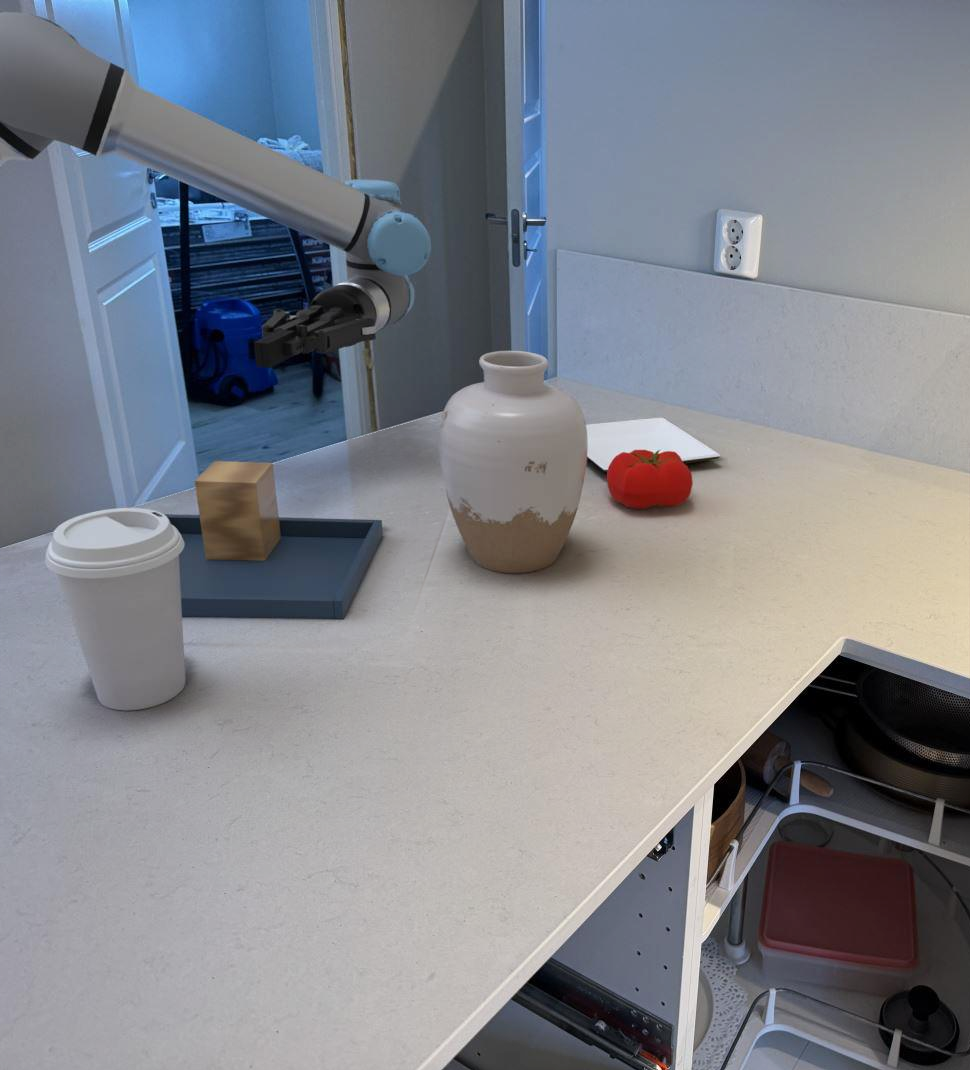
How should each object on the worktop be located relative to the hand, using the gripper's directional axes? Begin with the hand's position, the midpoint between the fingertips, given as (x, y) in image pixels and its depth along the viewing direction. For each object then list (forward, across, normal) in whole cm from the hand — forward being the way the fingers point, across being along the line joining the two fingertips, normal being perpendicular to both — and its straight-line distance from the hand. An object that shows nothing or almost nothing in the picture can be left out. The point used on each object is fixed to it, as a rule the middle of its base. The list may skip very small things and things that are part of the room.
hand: (262, 355), depth 108 cm
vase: (+2, -28, -20) cm, 35 cm away
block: (+8, 0, -20) cm, 21 cm away
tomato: (-17, -41, -20) cm, 49 cm away
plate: (-36, -37, -20) cm, 55 cm away
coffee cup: (+35, -5, -20) cm, 41 cm away
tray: (+14, -3, -20) cm, 24 cm away
